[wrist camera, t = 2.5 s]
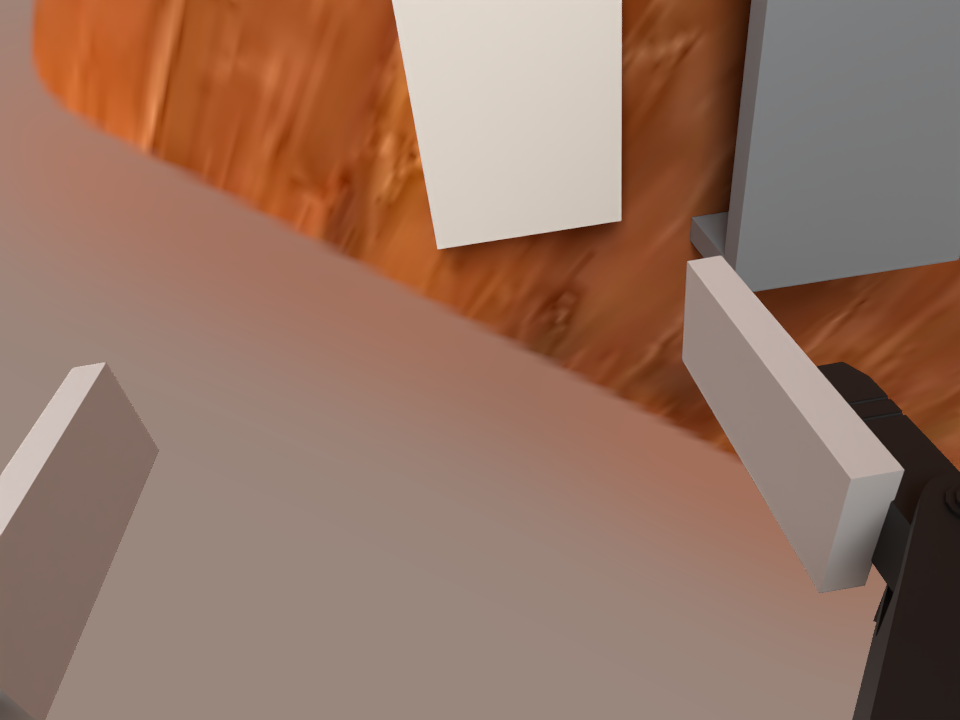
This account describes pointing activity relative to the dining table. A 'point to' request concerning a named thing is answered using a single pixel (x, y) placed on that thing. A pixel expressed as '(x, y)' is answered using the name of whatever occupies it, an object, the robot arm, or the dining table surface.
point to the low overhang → (843, 143)
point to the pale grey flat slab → (515, 113)
